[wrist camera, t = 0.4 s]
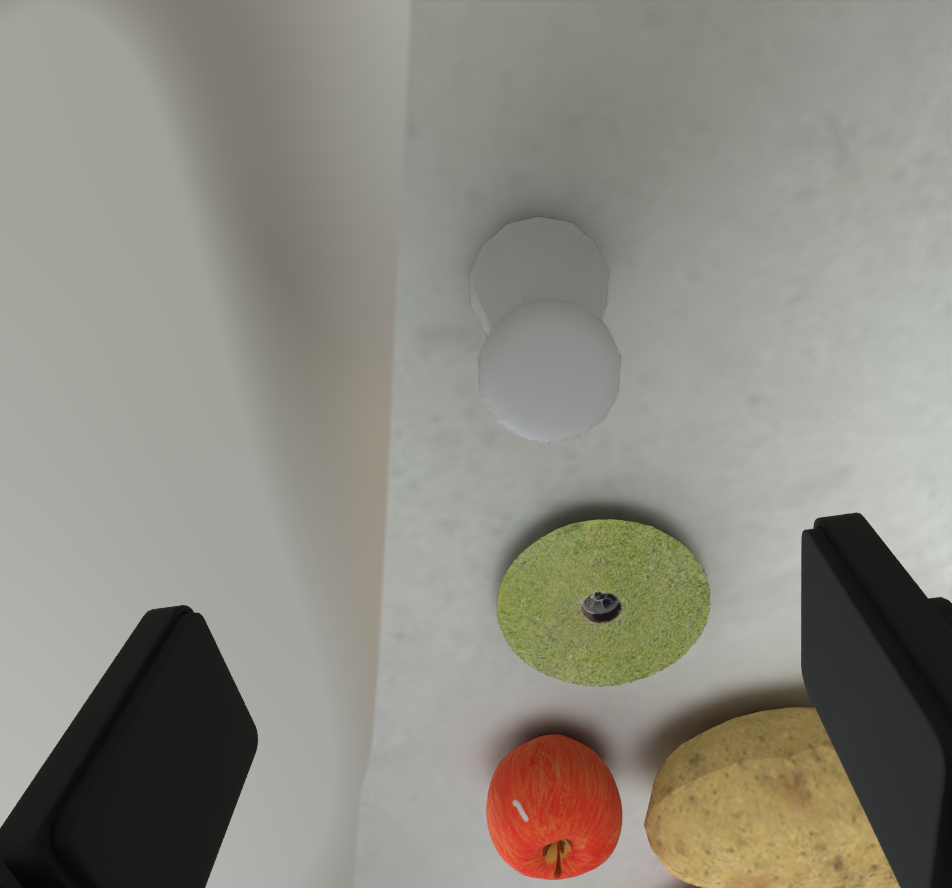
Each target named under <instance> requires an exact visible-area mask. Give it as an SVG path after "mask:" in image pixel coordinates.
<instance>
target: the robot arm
mask: <svg viewBox="0 0 952 888" xmlns="http://www.w3.org/2000/svg"><path fill="white" fill-rule="evenodd" d="M801 668H802V675H803V680H804V683H805V687H806V689H807V692H808V694H809V696H810V698H811V700H812V703H813V705H814V707H815V709H816V711H817V713H818V715H819V717H820V719H821V722H822V724H823V726H824V728H825V730H826V732H827V734H828V736H829V738H830V741H831V743H832V745H833V747H834V749H835V751H836V753H837V755H838V757H839V759H840V762H841V764H842V766H843V768H844V770H845V772H846V774H847V776H848V778H849V781H850V783H851V785H852V787H853V789H854V791H855V793H856V795H857V797H858V800H859V802H860V804H861V806H862V808H863V810H864V812H865V814H866V816H867V818H868V821H869V823H870V825H871V827H872V829H873V831H874V833H875V835H876V837H877V840H878V842H879V844H880V846H881V848H882V850H883V852H884V854H885V856H886V858H887V861H888V863H889V865H890V867H891V869H892V871H893V873H894V875H895V877H896V880H897V882H898V884H899V886H900V888H952V603H951V602H950V601H949V600H947V599H944V598H942V597H937V598H929V599H928V598H927V596H926V595H925V594H924V593H923V591H922V590H921V589H920V588H919V586H918V585H917V584H916V583H915V581H914V580H913V579H912V577H911V576H910V575H909V574H908V572H907V571H906V570H905V569H904V567H903V566H902V565H901V563H900V562H899V561H898V560H897V558H896V557H895V556H894V555H893V553H892V552H891V551H890V549H889V548H888V547H887V546H886V544H885V543H884V542H883V541H882V539H881V538H880V537H879V535H878V534H877V533H876V532H875V530H874V529H873V528H872V527H871V525H870V524H869V523H868V522H867V520H866V519H865V518H864V517H863V516H862V515H861V514H860V513H851V514H843V515H836V516H829V517H821V518H817V519H816V520H815V522H814V528H813V529H808V530H804V531H803V533H802V551H801ZM257 745H258V734H257V729H256V726H255V724H254V722H253V720H252V718H251V716H250V714H249V711H248V709H247V707H246V705H245V703H244V701H243V699H242V697H241V695H240V693H239V690H238V688H237V686H236V684H235V682H234V680H233V678H232V676H231V674H230V672H229V670H228V668H227V665H226V663H225V661H224V659H223V657H222V655H221V653H220V651H219V649H218V647H217V644H216V642H215V640H214V638H213V636H212V634H211V632H210V630H209V628H208V626H207V624H206V621H205V619H204V618H203V616H202V615H201V614H200V613H194V612H193V610H192V609H191V608H190V607H188V606H185V605H181V606H174V607H167V608H159V609H152V610H150V611H148V612H147V613H146V614H145V615H144V616H143V618H142V619H141V621H140V622H139V624H138V625H137V627H136V628H135V630H134V631H133V633H132V634H131V635H130V637H129V639H128V640H127V641H126V643H125V644H124V646H123V647H122V649H121V650H120V652H119V653H118V655H117V656H116V658H115V659H114V661H113V662H112V664H111V665H110V667H109V668H108V670H107V671H106V673H105V674H104V675H103V677H102V679H101V680H100V681H99V683H98V684H97V686H96V687H95V689H94V690H93V692H92V693H91V695H90V696H89V698H88V699H87V701H86V702H85V704H84V705H83V707H82V708H81V710H80V711H79V713H78V714H77V716H76V717H75V718H74V720H73V721H72V723H71V724H70V726H69V727H68V729H67V730H66V732H65V733H64V735H63V736H62V738H61V739H60V741H59V742H58V744H57V745H56V747H55V748H54V750H53V751H52V753H51V754H50V755H49V757H48V759H47V760H46V761H45V763H44V764H43V766H42V767H41V769H40V770H39V772H38V773H37V775H36V776H35V778H34V779H33V781H32V782H31V784H30V785H29V787H28V788H27V789H26V791H25V792H24V794H23V795H22V797H21V799H20V800H19V801H18V803H17V804H16V806H15V807H14V809H13V810H12V812H11V813H10V815H9V816H8V818H7V819H6V821H5V822H4V824H3V825H2V827H1V828H0V888H205V886H206V884H207V881H208V878H209V876H210V873H211V870H212V868H213V865H214V862H215V860H216V857H217V854H218V852H219V849H220V847H221V844H222V841H223V838H224V836H225V833H226V831H227V828H228V825H229V823H230V820H231V817H232V814H233V812H234V809H235V806H236V804H237V801H238V798H239V796H240V793H241V790H242V788H243V785H244V783H245V780H246V777H247V774H248V772H249V769H250V767H251V764H252V761H253V759H254V756H255V753H256V750H257Z"/></svg>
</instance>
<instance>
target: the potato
mask: <svg viewBox="0 0 952 888" xmlns="http://www.w3.org/2000/svg"><path fill="white" fill-rule="evenodd" d="M644 826H645V829H646V833H647V837H648V840H649V844H650V846H651V848H652V850H653V851H654V853H655V855H656V856H657V858H658V860H659V861H660V862H661V863H662V865H663V866H664V867H665V869H666V870H667V871H668V872H669V874H671V875H673V876H675V877H676V878H678V879H680V880H682V881H684V882H686V883H689V884H692V885H696V886H699V887H703V888H900V886H899V884H898V882H897V880H896V877H895V875H894V873H893V871H892V869H891V867H890V865H889V863H888V861H887V858H886V856H885V854H884V852H883V850H882V848H881V846H880V844H879V842H878V840H877V837H876V835H875V833H874V831H873V829H872V827H871V825H870V823H869V821H868V818H867V816H866V814H865V812H864V810H863V808H862V806H861V804H860V802H859V800H858V797H857V795H856V793H855V791H854V789H853V787H852V785H851V783H850V781H849V778H848V776H847V774H846V772H845V770H844V768H843V766H842V764H841V762H840V759H839V757H838V755H837V753H836V751H835V749H834V747H833V745H832V743H831V741H830V738H829V736H828V734H827V732H826V730H825V728H824V726H823V724H822V722H821V719H820V717H819V715H818V713H817V711H816V709H815V707H789V708H781V709H774V710H766V711H760V712H756V713H752V714H748V715H744V716H740V717H736V718H732V719H730V720H728V721H726V722H724V723H722V724H720V725H717V726H715V727H713V728H711V729H709V730H707V731H705V732H703V733H701V734H699V735H697V736H695V737H694V738H692V739H690V740H688V741H686V742H685V743H683V744H681V745H680V746H679V747H678V748H677V749H676V750H674V751H673V752H672V753H671V754H670V755H669V756H668V757H667V758H666V759H665V761H664V763H663V765H662V767H661V768H660V770H659V772H658V774H657V776H656V778H655V780H654V784H653V789H652V793H651V798H650V802H649V806H648V810H647V814H646V818H645V823H644Z"/></svg>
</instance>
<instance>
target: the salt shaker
mask: <svg viewBox="0 0 952 888" xmlns="http://www.w3.org/2000/svg"><path fill="white" fill-rule="evenodd" d="M608 280H609V270H608V268H607V266H606V264H605V262H604V259H603V257H602V255H601V253H600V251H599V249H598V247H597V245H596V243H595V242H594V241H593V240H592V239H590V238H589V237H588V236H587V235H586V234H584V233H583V232H582V231H581V230H580V229H578V228H577V227H576V226H575V225H574V224H572V223H571V222H566V221H560V220H555V219H549V218H544V217H535V218H531V219H527V220H523V221H518V222H514V223H510V224H507V225H506V226H505V227H504V228H502V229H501V230H500V231H499V232H498V233H497V234H496V235H495V236H494V237H492V238H491V239H490V240H489V241H488V242H487V243H486V244H485V245H484V246H482V249H481V251H480V253H479V255H478V257H477V260H476V262H475V264H474V266H473V268H472V271H471V273H470V294H471V307H472V309H473V310H474V312H475V314H476V316H477V318H478V320H479V322H480V324H481V326H482V327H483V329H484V331H485V333H486V336H487V339H486V341H485V343H484V345H483V347H482V349H481V351H480V354H479V358H478V367H479V387H480V391H481V394H482V397H483V399H484V400H485V402H486V404H487V406H488V408H489V410H490V411H491V413H492V415H493V417H494V419H495V421H496V422H497V423H499V424H500V425H502V426H503V427H505V428H506V429H508V430H509V431H511V432H512V433H514V434H515V435H517V436H518V437H520V438H523V439H528V440H533V441H538V442H543V443H548V444H551V443H555V442H560V441H564V440H568V439H573V438H577V437H580V436H581V435H583V434H584V433H586V432H587V431H589V430H590V429H591V428H593V427H594V426H596V425H597V424H599V423H600V422H602V421H603V420H604V419H605V417H606V415H607V413H608V412H609V410H610V408H611V406H612V405H613V403H614V401H615V399H616V397H617V396H618V392H619V380H620V366H621V355H620V353H619V351H618V349H617V347H616V344H615V342H614V340H613V338H612V336H611V334H610V332H609V330H608V328H607V326H606V325H605V323H604V322H603V321H602V320H603V317H604V313H605V309H606V305H607V297H608Z"/></svg>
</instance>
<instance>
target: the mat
mask: <svg viewBox="0 0 952 888" xmlns="http://www.w3.org/2000/svg"><path fill="white" fill-rule="evenodd" d="M708 586H709V584H708V582H707V578H706V574H705V572H704V569H702V566H701V565H700V564H699V562H698V560H697V559H696V557H695V556H694V555H693V554H692V553H691V552H690V551H689V550H688V549H687V548H686V547H685V546H684V545H683V544H681V543H680V542H679V541H677V540H676V539H674V538H673V537H671V536H670V535H669V534H665V533H663V532H662V531H661V530H659V529H655V528H654V527H652V526H649V527H648V526H647V525H643V524H639V523H637V522H630V521H623V520H613V519H608V520H599V519H597V520H591V521H584V522H579V523H575V524H569V525H567V526H566V527H561V528H559V529H556V530H554V531H553V532H551V533H548V534H546V535H545V536H543V537H540V539H539V540H538V541H537V542H535V543H533V544H532V545H531V546H529V547H528V548H527V549H526V550H524V552H523V553H521V554H520V556H518V557H517V559H516V560H515V561H514V562H513V564H512V565H510V567H509V568H508V570H507V572H506V574H505V575H504V577H503V580H502V582H501V586H500V588H499V593H498V598H497V614H498V621H499V625H500V628H501V631H502V632H503V635H504V637H505V639H506V641H507V642H508V644H509V645H510V647H511V648H512V650H513V651H515V652H516V654H517V655H518V656H519V657H520V658H521V659H522V660H524V662H527V664H528V665H530V666H531V667H533V668H534V669H536V670H538V671H539V672H542V673H544V674H545V675H548V676H550V677H553V678H557V679H559V680H562V681H565V682H572V683H575V684H582V685H586V686H600V687H601V686H610V685H611V686H613V685H620V684H623V683H627V682H632V681H635V680H638V679H642V678H646V677H648V676H650V675H653V674H655V673H656V672H658V671H662V670H663V669H664V668H666V667H668V666H669V665H671V664H673V663H675V662H676V661H677V660H678V659H680V658H681V657H682V656H683V655H684V654H686V653H687V652H688V650H689V649H690V648H691V646H692V645H693V644H695V642H696V640H697V639H698V637H699V636H700V635H701V633H702V631H703V630H704V626H706V623H707V617H708V614H709V610H710V607H709V606H710V589H709V587H708Z"/></svg>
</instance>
